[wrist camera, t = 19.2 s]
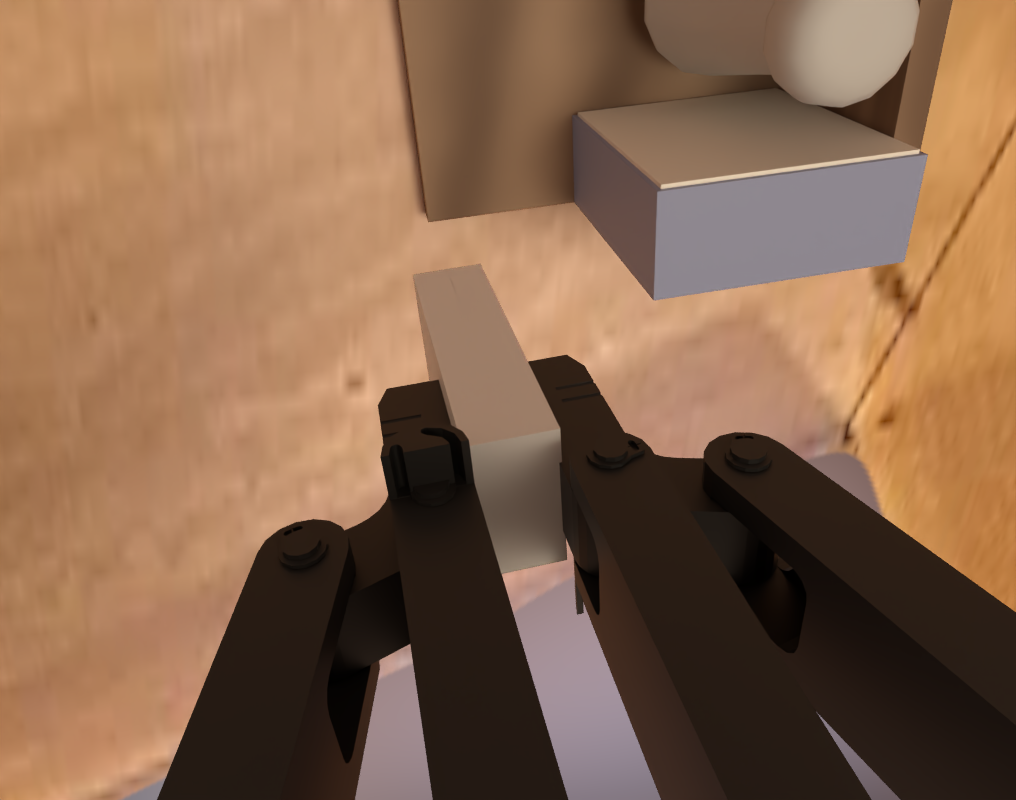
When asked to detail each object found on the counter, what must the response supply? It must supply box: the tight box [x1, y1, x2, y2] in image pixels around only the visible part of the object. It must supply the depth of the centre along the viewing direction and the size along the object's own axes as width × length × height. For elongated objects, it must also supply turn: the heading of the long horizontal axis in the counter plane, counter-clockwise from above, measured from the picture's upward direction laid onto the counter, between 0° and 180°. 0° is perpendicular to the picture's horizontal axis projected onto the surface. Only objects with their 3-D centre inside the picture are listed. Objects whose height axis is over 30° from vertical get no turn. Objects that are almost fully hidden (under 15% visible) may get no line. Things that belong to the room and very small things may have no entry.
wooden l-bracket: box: [397, 0, 953, 222], centre depth 30 cm, size 18×16×10 cm
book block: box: [572, 88, 928, 300], centre depth 32 cm, size 10×4×11 cm, turn 94°
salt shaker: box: [644, 0, 920, 107], centre depth 28 cm, size 6×6×13 cm
